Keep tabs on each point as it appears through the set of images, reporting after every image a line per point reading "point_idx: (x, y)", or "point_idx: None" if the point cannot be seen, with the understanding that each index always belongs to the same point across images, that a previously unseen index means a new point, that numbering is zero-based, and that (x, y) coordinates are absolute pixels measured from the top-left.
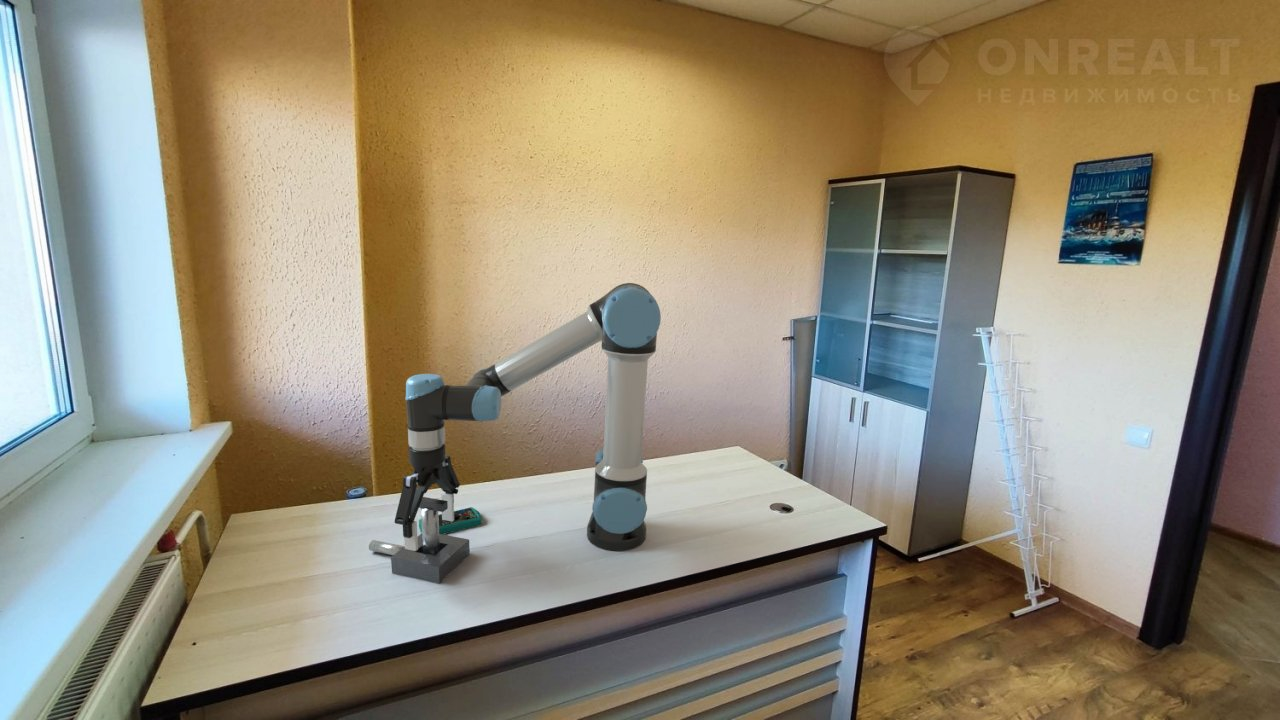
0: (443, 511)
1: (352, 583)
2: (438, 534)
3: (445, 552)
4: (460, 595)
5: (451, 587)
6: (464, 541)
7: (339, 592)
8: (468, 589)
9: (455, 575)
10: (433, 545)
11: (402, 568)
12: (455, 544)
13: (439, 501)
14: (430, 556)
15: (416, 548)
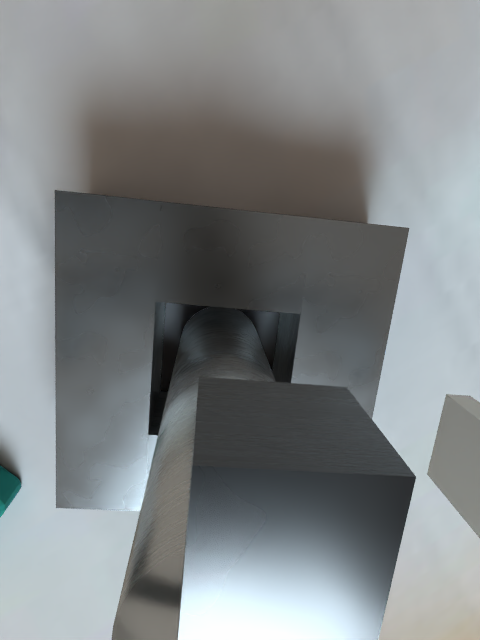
0: (331, 386)
1: (412, 554)
2: (219, 364)
3: (249, 269)
4: (445, 67)
5: (387, 149)
6: (90, 211)
7: (469, 560)
8: (393, 47)
9: (287, 179)
10: (261, 356)
11: None
12: (144, 253)
13: (266, 620)
14: (309, 333)
15: (472, 401)
